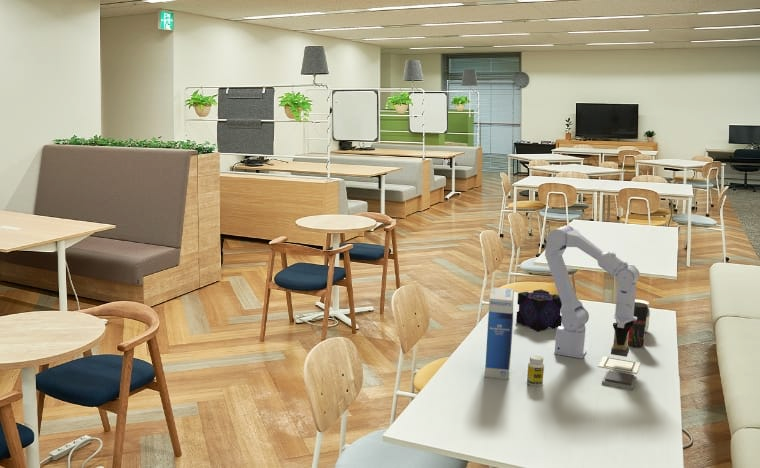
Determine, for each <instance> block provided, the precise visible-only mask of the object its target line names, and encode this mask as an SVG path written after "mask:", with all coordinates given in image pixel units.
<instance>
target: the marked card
mask: <svg viewBox="0 0 760 468" xmlns="http://www.w3.org/2000/svg"><path fill="white" fill-rule="evenodd" d="M640 366H641V362H639V361H633V360H626V359H622V358H616V357H610V356H605V355H604V356H602V358H601V360H600V362H599V363H598V366H597V367H599V368H605V369H610V370H614V371H621V372H625V373H627V372H628V373H631V374H637V373H638V372H639V369H640Z"/></svg>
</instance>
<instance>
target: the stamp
mask: <svg viewBox="0 0 760 468" xmlns="http://www.w3.org/2000/svg"><path fill="white" fill-rule="evenodd" d="M628 337H629V332H628V334H627V337H626V341H625V344H624V346H623V345H617V339H616V333H615V332H614V337H613V345H612V346H611V349H610V355H612V356H613V355H614V356H618V357H623V358H624V357H625V358H627V357H628V355H629V353H630V352H629V351H630V346H628Z"/></svg>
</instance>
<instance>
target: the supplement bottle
mask: <svg viewBox="0 0 760 468" xmlns="http://www.w3.org/2000/svg"><path fill="white" fill-rule="evenodd" d="M544 370H545V365H544V357H543V356H541V355H535V354H533V355H530V357H529V362H528V364H527V375H526V383H527V384H528V385H529V386H533V387H540V386H542V385H543V383H544V373H545V372H544Z"/></svg>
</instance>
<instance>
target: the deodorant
mask: <svg viewBox="0 0 760 468" xmlns="http://www.w3.org/2000/svg"><path fill="white" fill-rule="evenodd" d="M647 307H648V305H647V304H644V303H640V302H635V305H634V317H637V320H634V322H633V324H632V325H631V326H632V327H631V329H630V330H629V337H628V346H629V348H630V347H631V348H635V349H636V348H637V349H638V348H643V347H645V337H646V336H645V335H646V334H645V327H646V317H647ZM648 308H649V307H648Z"/></svg>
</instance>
